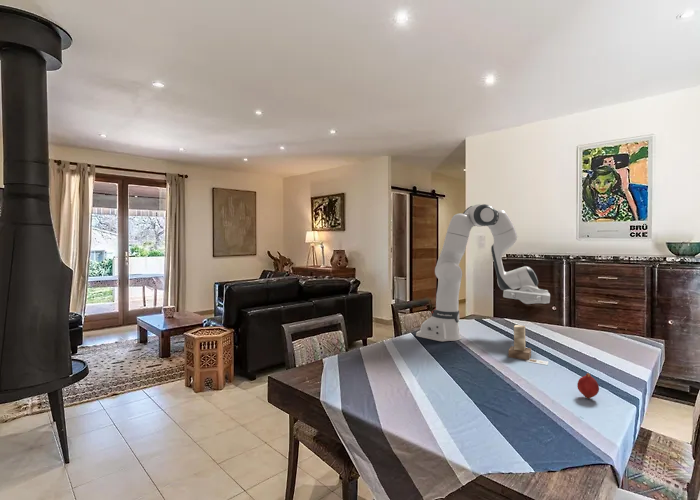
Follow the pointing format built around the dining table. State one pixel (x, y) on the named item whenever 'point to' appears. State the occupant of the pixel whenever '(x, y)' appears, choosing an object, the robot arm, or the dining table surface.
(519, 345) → the pillar
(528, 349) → the plinth
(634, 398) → the dining table surface
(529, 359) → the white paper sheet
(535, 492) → the dining table surface
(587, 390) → the red rounded piece
